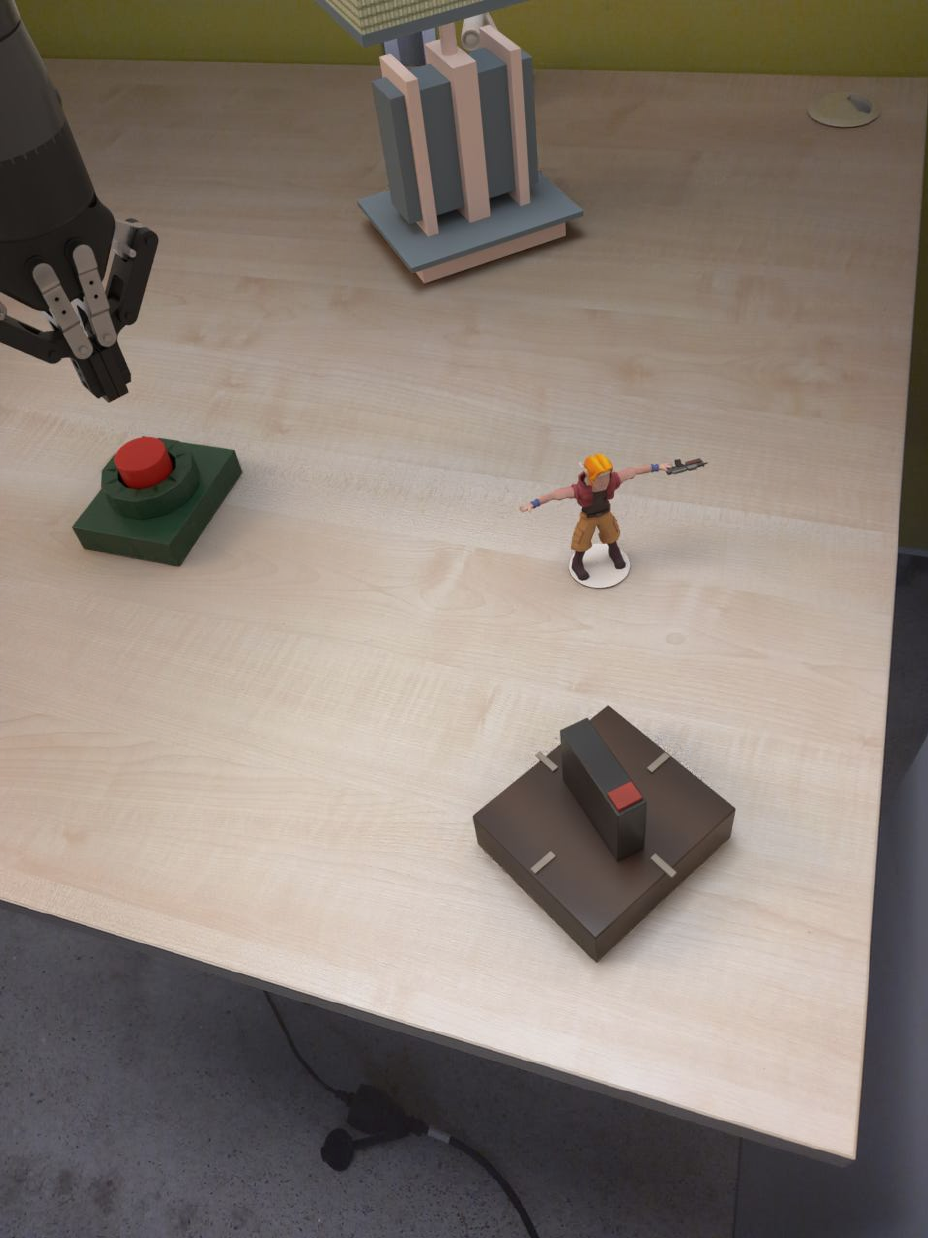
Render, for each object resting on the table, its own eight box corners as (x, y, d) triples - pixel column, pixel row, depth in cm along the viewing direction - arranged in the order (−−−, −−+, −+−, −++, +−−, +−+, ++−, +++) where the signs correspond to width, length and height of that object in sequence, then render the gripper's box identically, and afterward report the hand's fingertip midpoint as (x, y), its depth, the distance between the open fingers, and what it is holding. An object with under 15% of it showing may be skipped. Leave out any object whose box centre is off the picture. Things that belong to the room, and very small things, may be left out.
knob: (562, 777, 54) (558, 727, 50) (588, 764, 54) (587, 713, 51) (617, 862, 50) (618, 814, 47) (645, 847, 51) (647, 799, 47)
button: (157, 492, 71) (148, 474, 70) (113, 485, 72) (104, 466, 71) (182, 458, 73) (174, 439, 72) (139, 452, 74) (130, 433, 73)
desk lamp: (524, 171, 102) (497, -249, 77) (591, 233, 93) (585, -219, 69) (353, 226, 99) (268, -195, 74) (407, 296, 90) (330, -156, 65)
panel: (601, 968, 50) (600, 943, 48) (473, 839, 55) (466, 810, 53) (736, 841, 54) (742, 811, 51) (603, 730, 59) (603, 698, 57)
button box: (179, 566, 71) (160, 526, 68) (83, 548, 74) (60, 508, 71) (242, 471, 77) (227, 430, 74) (152, 457, 80) (133, 416, 76)
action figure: (685, 518, 69) (695, 408, 62) (705, 547, 67) (716, 436, 60) (518, 570, 68) (508, 462, 61) (533, 600, 66) (524, 493, 59)
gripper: (73, 66, 59) (171, 327, 72) (-151, 154, 54) (-3, 416, 67) (134, 100, 54) (227, 370, 68) (-103, 199, 50) (45, 468, 63)
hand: (112, 393), depth 67 cm, fingers closed
